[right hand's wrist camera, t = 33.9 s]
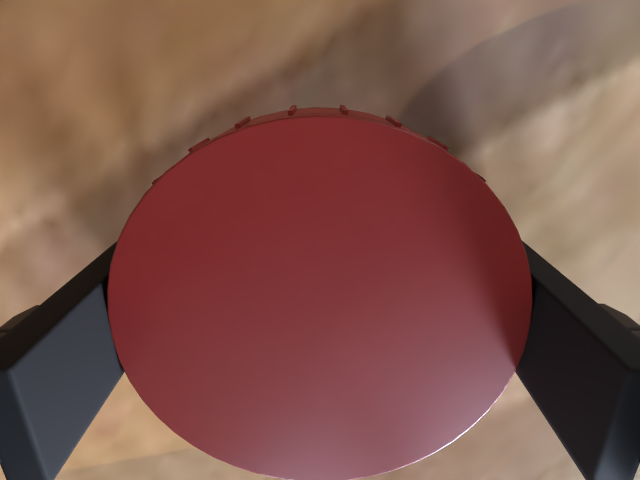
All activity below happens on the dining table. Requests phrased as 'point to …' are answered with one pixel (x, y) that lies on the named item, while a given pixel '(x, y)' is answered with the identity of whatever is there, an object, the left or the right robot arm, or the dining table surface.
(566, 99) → the dining table surface
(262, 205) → the lid
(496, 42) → the dining table surface
